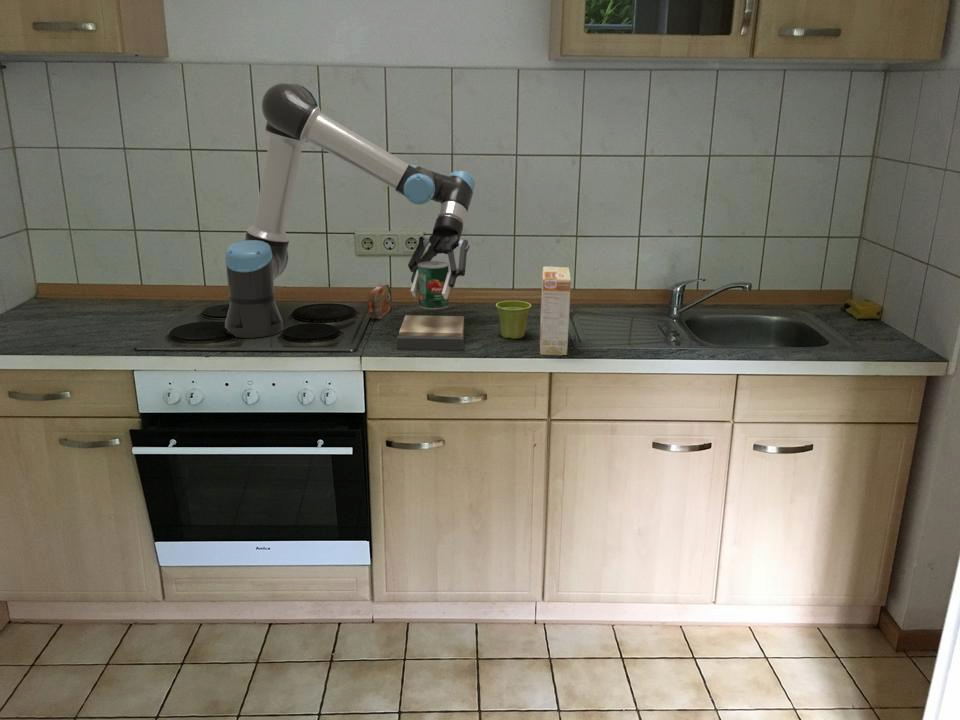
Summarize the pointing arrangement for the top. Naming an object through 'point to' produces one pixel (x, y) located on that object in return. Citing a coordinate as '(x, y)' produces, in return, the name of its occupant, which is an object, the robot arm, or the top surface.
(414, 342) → the block
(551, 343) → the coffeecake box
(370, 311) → the orange brown packet
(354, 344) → the top surface
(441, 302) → the canned tomato
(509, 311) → the plant pot
